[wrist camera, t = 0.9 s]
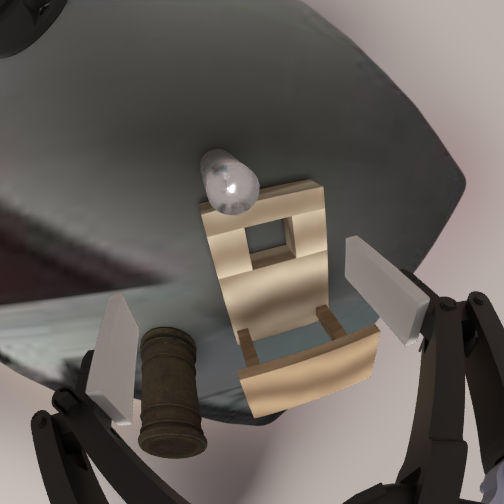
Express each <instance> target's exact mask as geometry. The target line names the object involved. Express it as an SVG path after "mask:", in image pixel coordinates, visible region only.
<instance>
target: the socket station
mask: <svg viewBox="0 0 504 504" xmlns="http://www.w3.org/2000/svg"><path fill="white" fill-rule="evenodd" d="M199 205H200V211H201V216H202V220H203V224H204V228H205V231H206V235H207V239H208V243H209V246H210V250H211V254H212V258H213V261H214V265H215V268H216V272H217V276H218V279H219V283H220V286H221V290H222V293H223V297H224V300H225V304H226V307H227V310H228V314H229V317H230V321H231V324H232V327H233V331H234V334H235V337H236V340H237V344H238V345H241V348H242V352H243V356H244V359H245V363H246V366H247V368H245V369H241V370H238V375H239V379H240V382H241V385H242V387H243V390H244V393H245V395H246V398H247V401H248V403H249V406H250V408H251V411H252V414H253V416H254V418H258V417H261V416H265V415H268V414H272V413H275V412H279V411H282V410H285V409H288V408H291V407H295V406H297V405H300V404H304V403H306V402H309V401H312V400H315V399H317V398H320V397H323V396H325V395H328V394H331V393H334V392H336V391H338V390H341V389H343V388H346V387H348V386H351V385H353V384H355V383H358V382H360V381H362V380H364V379H367V378H369V377H370V376H371V372H372V368H373V364H374V360H375V355H376V351H377V346H378V341H379V337H380V330H379V329H378V327H377V326H376V325H375V324H374V325H371V326H369V327H367V328H364V329H362V330H359V331H357V332H354V333H352V334H349V335H347V333H346V332H345V330H344V329H343V328H342V326H341V325H340V323H339V322H338V321H337V319H336V318H335V316H334V315H333V313H332V312H331V311H330V309H329V308H328V257H327V234H326V217H325V203H324V190H323V186H321V185H319V184H317V183H316V182H314V181H312V180H310V179H307V180H302V181H297V182H292V183H287V184H282V185H278V186H273V187H268V188H264V189H259V195H258V198H257V201H256V202H255V204H254V205H253V206H252V207H251V208H250V209H249V210H248V211H246V212H244V213H242V214H239V215H225V214H222V213H220V212H218V211H217V210H215V209H214V208H213V207H212V205H211V204H210V202H205V203H201V204H199ZM282 218H283V224H284V232H285V240H286V245H283V246H279V247H275V248H271V249H267V250H263V251H260V252H256V253H252V254H249V249H248V244H247V239H246V234H245V229H244V228H245V227H249V226H253V225H257V224H262V223H266V222H270V221H274V220H278V219H282ZM316 321H320V323H321V324H322V326H323V327H324V329H325V330H326V332H327V334H328V335H329V337H330V338H331V340H332V341H331V342H328V343H325V344H322V345H319V346H317V347H314V348H311V349H308V350H305V351H302V352H299V353H296V354H293V355H290V356H287V357H283V358H280V359H277V360H273V361H270V362H267V363H263V364H260V363H259V360H258V357H257V354H256V351H255V348H254V345H253V342H252V341H255V340H258V339H262V338H265V337H269V336H272V335H275V334H279V333H282V332H285V331H289V330H292V329H295V328H298V327H301V326H304V325H307V324H310V323H313V322H316Z"/></svg>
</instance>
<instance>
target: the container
mask: <svg viewBox="0 0 504 504" xmlns="http://www.w3.org/2000/svg"><path fill="white" fill-rule="evenodd" d="M140 349H141V359H142V362H143V363H142V397H141V415H140V418H141V421H142V427H141V429H140V435H139V437H138V443H139V446H140V447H141V449H142V450H143V451H145V452H147V453H149V454H151V455H154V456H158V457H162V458H174V459H175V458H176V459H177V458H178V459H179V458H188V457H192V456H196V455H198V454H200V453H202V452H204V451H205V449H206V447H207V439H206V438H205V436H204V433H203V430H202V428H201V420H202V418H201V415H200V411H199V404H198V397H197V389H196V379H195V377H196V369H195V363H196V346H195V344H194V342H193V340H192V339H191V338H190V337H189V336H188V335H187V334H186V333H184V332H182V331H180V330H177V329H173V328H157V329H153V330H151V331H149V332H148V333H146V335H145V336H144V337H143V339H142V341H141V345H140Z"/></svg>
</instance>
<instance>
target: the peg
mask: <svg viewBox="0 0 504 504" xmlns="http://www.w3.org/2000/svg"><path fill="white" fill-rule="evenodd" d="M200 171H201V175H202V179H203V182H204V186H205V190H206V193H207V197H208V200H209V202H210V204H211V205H212V207H213V208H214V209H215V210H217V211H218V212H220V213H222V214H225V215H239V214H242V213H244V212H246V211H248V210H249V209H250V208H251V207H252V206H253V205H254V204H255V202H256V201H257V198H258V195H259V182H258V179H257V177H256V175H255V174H254V173H253V172H252V171H251V170H250V169H249V168H248V167H246V166H245V165H244V164H243V163H241V162H240V161H239V160H237V159H236V158H235V157H234V156H232V155H231V154H230V153H228V152H227V151H225V150H223V149H212V150H210V151H208V152H207V153H205V154H204V155H203V157H202V159H201V161H200Z"/></svg>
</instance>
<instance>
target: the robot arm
mask: <svg viewBox="0 0 504 504" xmlns="http://www.w3.org/2000/svg"><path fill="white" fill-rule="evenodd" d="M66 1H67V0H0V58H6V57H10V56H12V55H15V54H17V53H19V52H21V51H22V50H24V49H25V48H27V47H28V46H30V45H31V44H32V43H33V42H34V41H36V40H37V39H38V38H39V37H40V36H41V35H42V34H43V33H44V32H45V31H46V30H47V29H48V28H49V27H50V25H51V24H52V23H53V22H54V20H55V19H56V18H57V16H58V15H59V13H60V12H61V10H62V9H63V7H64V5H65V3H66ZM345 277H346V279H347V280H348V281H349V282H350V283H351V284H352V285H353V286H354V287H355V289H356V290H357V291H358V292H359V293H360V294H361V295H362V296H363V298H364V299H365V300H366V301H367V302H368V303H369V304H370V306H371V307H372V308H373V309H374V310H375V311H376V313H377V314H378V315H379V316H380V317H381V318H382V319H383V320H384V322H385V323H386V324H387V325H388V327H389V328H390V329H391V330H392V331H393V332H394V334H395V335H396V336H397V337H398V338H399V340H400V341H401V342H402V343H403V344H404V346H405V347H406V346H408V345H410V344H412V343H414V342H416V341H417V339H418V336H419V333H421V334H422V335H423V336H424V338H423V341H422V343H421V346H420V349H419V352H421V349H422V355H421V368H420V379H419V387H418V395H417V402H416V409H415V414H414V420H413V426H412V431H411V436H410V441H409V445H408V449H407V453H406V457H405V461H404V463H403V465H402V467H401V469H400V471H399V473H398V476H397V479H396V482H395V484H386V485H382V483H379V484H377V485H375V486H373V487H371V488H369V489H367V490H365V491H362V492H360V493H358V494H356V495H354V496H353V497H351V498H350V499H348V500H347V501H346V502H344V503H343V504H504V328H503V326H502V324H501V322H500V320H499V318H498V316H497V314H496V312H495V310H494V308H493V306H492V304H491V302H490V301H489V299H488V298H487V296H486V295H485V294H483V293H481V292H476V291H474V292H471V293H470V294H469V296H468V299H467V301H461V302H456V301H455V300H454V299H452V298H450V297H439V296H438V295H437V294H435V293H434V292H433V291H432V290H431V289H430V288H429V287H428V286H426V285H425V284H424V283H422V281H421V280H419V279H418V278H417V277H416V276H415V275H414V274H413V273H411V272H409V271H407V270H405V269H401V270H398V269H397V268H396V267H395V266H393V265H392V264H391V263H390V262H389V261H388V260H386V259H385V258H384V257H383V256H382V255H380V254H379V253H378V252H377V251H375V250H374V249H373V248H372V247H371V246H369V245H368V244H367V243H366V242H364V241H363V240H362V239H361V238H359V237H358V236H357V235H356V236H353V237H349V238H346V260H345ZM138 337H139V327H138V325H137V323H136V322H135V320H134V318H133V316H132V314H131V312H130V310H129V308H128V305H127V303H126V301H125V299H124V297H123V295H122V293H120V294H115V295H111V296H110V297H109V300H108V303H107V307H106V310H105V313H104V317H103V320H102V324H101V327H100V331H99V335H98V338H97V342H96V346H95V350H89V351H87V353H86V354H85V356H84V357H83V360H82V364H81V368H80V372H79V376H78V380H77V384H76V389H75V390H74V389H73V388H72V387H71V386H62V387H60V388H59V389H57V390H56V391H55V393H54V395H53V397H52V406H53V407H54V408H55V409H56V410H57V411H58V412H59V413H57V414H54V415H50V414H49V413H48V412H47V411H45V410H40V411H38V412H37V413H35V414H34V416H33V417H32V420H31V430H32V435H33V441H34V446H35V451H36V455H37V460H38V464H39V468H40V471H41V475H42V479H43V482H44V485H45V489H46V491H47V495H48V498H49V501H50V503H51V504H109V503H108V501H107V499H106V497H105V495H104V493H103V491H102V489H101V487H100V485H99V482H98V480H97V478H96V476H95V473H94V471H93V469H92V466H91V464H90V461H89V459H88V456H89V457H90V458H91V460H92V461H93V463H94V464H95V465H96V467H97V468H98V469H99V471H100V472H101V473H102V474H103V476H104V477H105V478H106V480H107V481H108V482H109V483H110V485H111V486H112V487H113V488H114V489H115V490H116V491H117V493H118V494H119V495H120V496H121V497H122V499H123V500H124V501H125V502H126V503H127V504H190V503H189V502H188V501H187V500H185V499H184V498H183V497H182V496H180V495H179V494H178V493H177V492H176V491H175V490H173V489H172V488H171V487H170V486H169V485H168V484H167V483H165V482H164V481H163V480H162V479H161V478H160V477H159V476H158V475H157V474H156V473H154V471H153V470H152V469H150V468H149V467H148V466H147V465H146V464H145V463H144V462H143V461H142V460H141V459H140V457H138V455H137V454H136V453H135V452H134V451H133V450H132V449H131V448H130V447H129V446H128V445H127V444H126V443H125V442H124V440H123V439H122V438H121V437H120V436H119V434H118V433H117V432H116V431H115V430H114V429H113V428H112V427H111V422H112V421H111V420H113V421H114V422H115V423H116V424H117V425H131V424H132V412H133V393H134V378H135V366H136V355H137V346H138ZM465 375H466V379H467V383H468V387H469V391H470V395H471V400H472V404H473V409H474V414H475V419H476V425H477V431H478V438H479V445H480V452H481V460H482V465H483V469H484V473H485V475H486V476H485V478H484V481H483V482H482V483H481V485H480V491H481V493H484V495H483V499H482V501H481V502H475V501H470V500H465V499H460V498H459V497H460V493H461V488H462V483H463V478H464V472H465V466H466V460H467V452H468V445H467V442H466V441H464V440H463V425H464V409H465ZM86 453H87V454H88V456H87V454H86Z"/></svg>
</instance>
